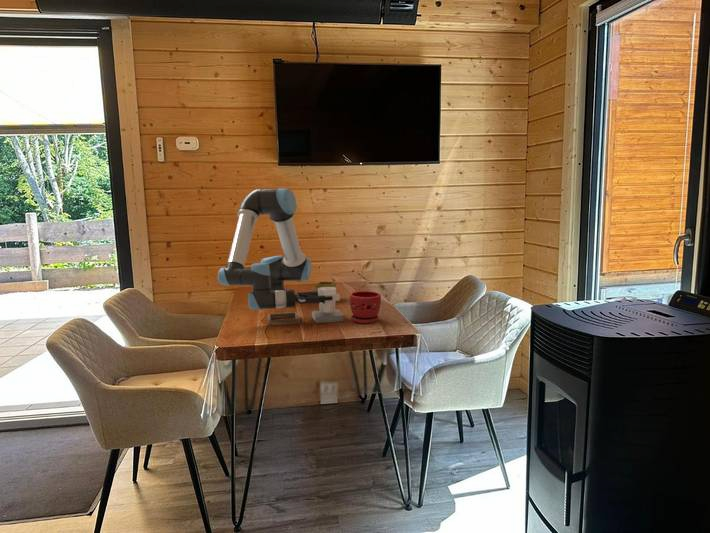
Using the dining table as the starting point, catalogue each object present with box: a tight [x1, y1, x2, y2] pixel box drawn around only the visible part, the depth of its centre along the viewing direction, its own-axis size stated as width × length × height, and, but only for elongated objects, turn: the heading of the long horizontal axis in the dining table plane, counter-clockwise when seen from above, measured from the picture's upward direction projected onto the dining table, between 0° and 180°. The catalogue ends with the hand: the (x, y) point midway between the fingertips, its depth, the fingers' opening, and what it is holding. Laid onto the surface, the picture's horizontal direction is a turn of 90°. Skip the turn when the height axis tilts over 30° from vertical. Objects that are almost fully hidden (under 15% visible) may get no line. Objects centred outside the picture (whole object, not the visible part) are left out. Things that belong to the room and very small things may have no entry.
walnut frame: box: [267, 311, 301, 327], centre depth 208 cm, size 13×13×2 cm
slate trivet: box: [311, 309, 345, 324], centre depth 210 cm, size 12×12×2 cm
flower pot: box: [315, 281, 337, 291], centre depth 251 cm, size 9×9×9 cm
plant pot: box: [349, 290, 382, 324], centre depth 204 cm, size 13×13×12 cm
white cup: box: [318, 287, 337, 313], centre depth 209 cm, size 8×8×10 cm
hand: (337, 295), depth 210 cm, fingers closed on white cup, 7 cm apart
